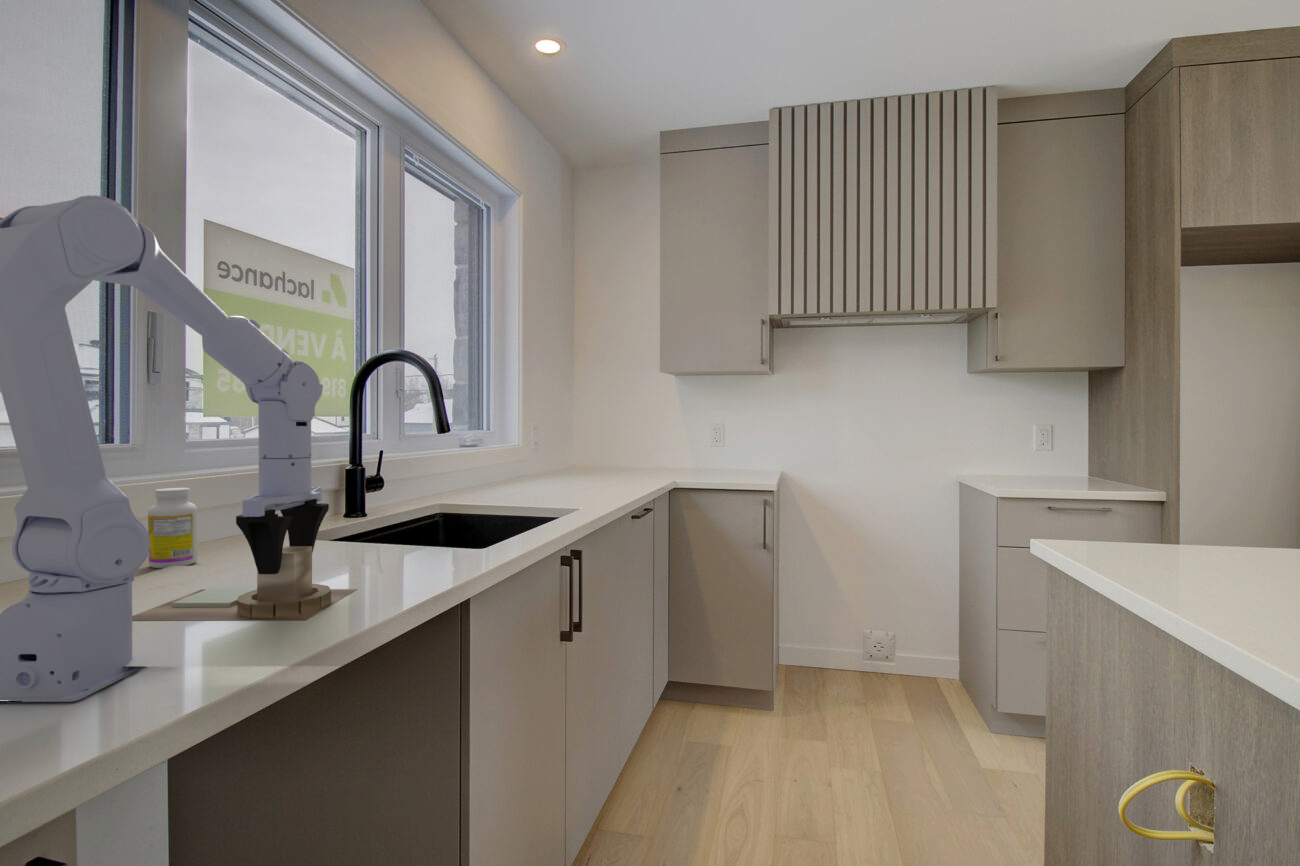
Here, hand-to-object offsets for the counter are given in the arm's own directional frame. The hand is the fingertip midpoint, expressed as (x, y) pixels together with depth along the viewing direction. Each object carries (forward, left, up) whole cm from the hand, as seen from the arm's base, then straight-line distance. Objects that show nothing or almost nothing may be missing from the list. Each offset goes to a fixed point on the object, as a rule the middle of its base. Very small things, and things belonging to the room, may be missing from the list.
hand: (285, 566), depth 80 cm
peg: (0, 0, -5) cm, 5 cm away
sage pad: (+3, +10, -5) cm, 12 cm away
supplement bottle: (+29, +34, -6) cm, 45 cm away
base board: (+1, +5, -6) cm, 8 cm away
